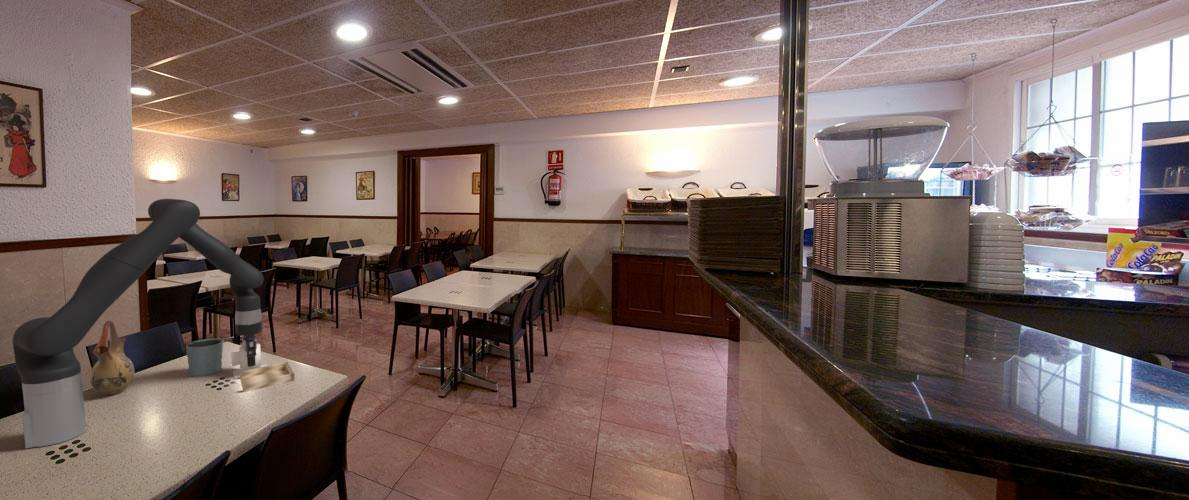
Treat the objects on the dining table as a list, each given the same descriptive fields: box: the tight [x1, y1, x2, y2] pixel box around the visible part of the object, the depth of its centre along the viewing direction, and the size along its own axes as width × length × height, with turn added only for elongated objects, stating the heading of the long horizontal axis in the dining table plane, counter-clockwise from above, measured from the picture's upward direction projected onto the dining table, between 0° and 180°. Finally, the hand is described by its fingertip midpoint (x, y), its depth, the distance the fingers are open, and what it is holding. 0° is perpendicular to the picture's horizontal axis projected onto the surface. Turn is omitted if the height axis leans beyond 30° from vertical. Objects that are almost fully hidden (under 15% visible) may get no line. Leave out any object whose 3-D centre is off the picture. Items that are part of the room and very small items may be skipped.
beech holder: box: [239, 361, 295, 393], centre depth 142 cm, size 14×15×3 cm
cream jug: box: [230, 342, 262, 371], centre depth 146 cm, size 8×6×9 cm
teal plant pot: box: [185, 338, 224, 378], centre depth 146 cm, size 10×10×12 cm
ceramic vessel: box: [89, 320, 135, 396], centre depth 128 cm, size 16×9×25 cm, turn 37°
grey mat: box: [232, 363, 268, 381], centre depth 147 cm, size 10×10×1 cm
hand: (250, 363), depth 147 cm, fingers closed on cream jug, 6 cm apart
